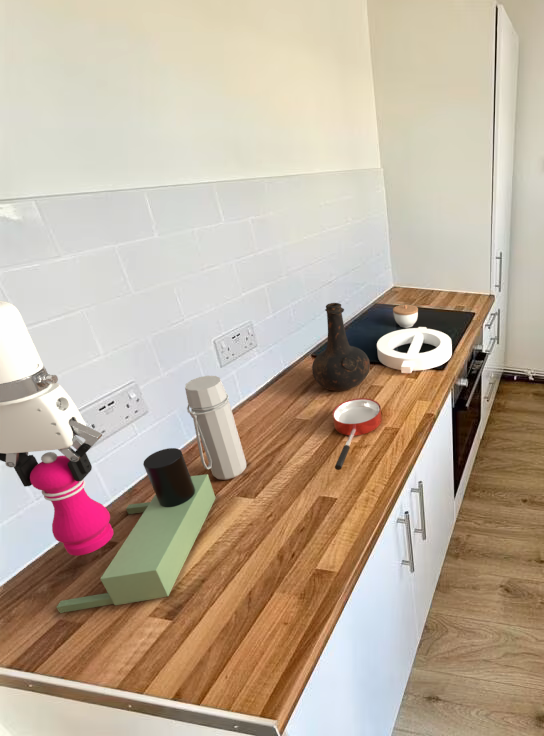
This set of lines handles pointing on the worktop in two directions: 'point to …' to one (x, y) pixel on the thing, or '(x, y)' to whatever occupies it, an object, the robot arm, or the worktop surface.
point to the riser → (151, 551)
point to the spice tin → (169, 477)
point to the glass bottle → (339, 356)
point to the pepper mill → (71, 507)
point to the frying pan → (355, 421)
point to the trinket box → (405, 315)
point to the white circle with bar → (414, 349)
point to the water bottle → (215, 427)
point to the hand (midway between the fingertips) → (59, 477)
